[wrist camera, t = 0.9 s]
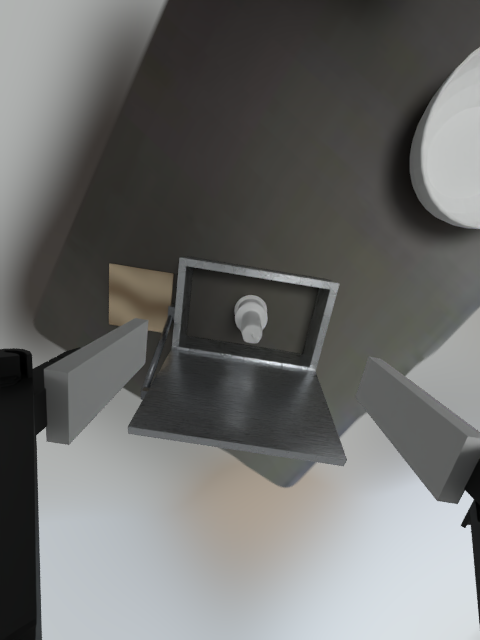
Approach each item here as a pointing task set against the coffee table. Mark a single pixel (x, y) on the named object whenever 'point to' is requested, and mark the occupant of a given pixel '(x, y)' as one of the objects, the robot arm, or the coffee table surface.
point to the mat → (139, 296)
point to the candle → (251, 317)
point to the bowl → (451, 149)
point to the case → (241, 383)
